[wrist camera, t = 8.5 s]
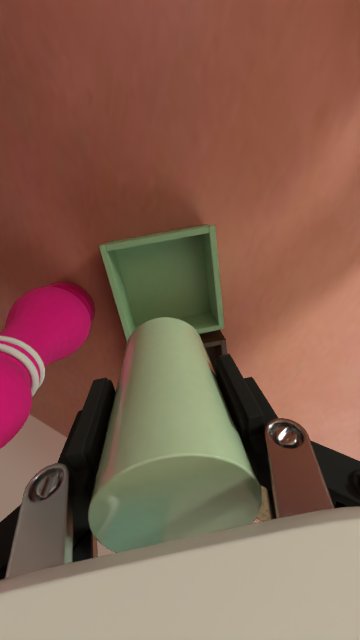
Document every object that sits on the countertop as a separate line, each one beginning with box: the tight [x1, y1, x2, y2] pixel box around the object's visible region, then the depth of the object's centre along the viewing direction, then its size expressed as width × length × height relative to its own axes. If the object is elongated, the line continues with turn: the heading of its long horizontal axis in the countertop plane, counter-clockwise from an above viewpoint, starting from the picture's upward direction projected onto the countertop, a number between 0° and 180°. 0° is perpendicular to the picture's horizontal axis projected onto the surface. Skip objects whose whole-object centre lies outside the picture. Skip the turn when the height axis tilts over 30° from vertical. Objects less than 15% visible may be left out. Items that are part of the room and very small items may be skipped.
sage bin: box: [99, 225, 224, 342], centre depth 25 cm, size 11×11×5 cm
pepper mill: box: [0, 282, 95, 448], centre depth 18 cm, size 7×7×20 cm
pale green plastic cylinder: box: [88, 317, 262, 553], centre depth 11 cm, size 5×5×9 cm
